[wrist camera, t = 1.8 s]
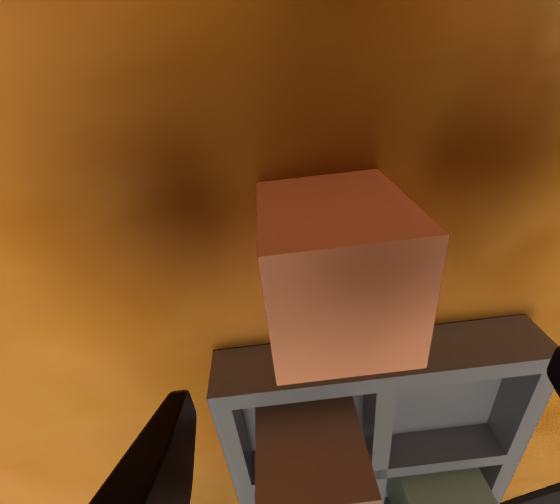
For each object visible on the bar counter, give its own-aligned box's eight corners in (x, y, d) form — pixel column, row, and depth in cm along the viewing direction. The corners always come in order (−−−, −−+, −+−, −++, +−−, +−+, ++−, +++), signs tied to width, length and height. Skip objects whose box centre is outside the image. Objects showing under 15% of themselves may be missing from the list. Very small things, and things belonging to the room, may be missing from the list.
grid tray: (467, 478, 27) (529, 600, 21) (254, 504, 27) (254, 634, 21) (525, 314, 18) (656, 440, 12) (213, 350, 18) (192, 495, 12)
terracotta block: (372, 269, 16) (426, 367, 11) (269, 281, 16) (276, 385, 11) (377, 168, 14) (449, 234, 9) (256, 182, 14) (257, 257, 9)
